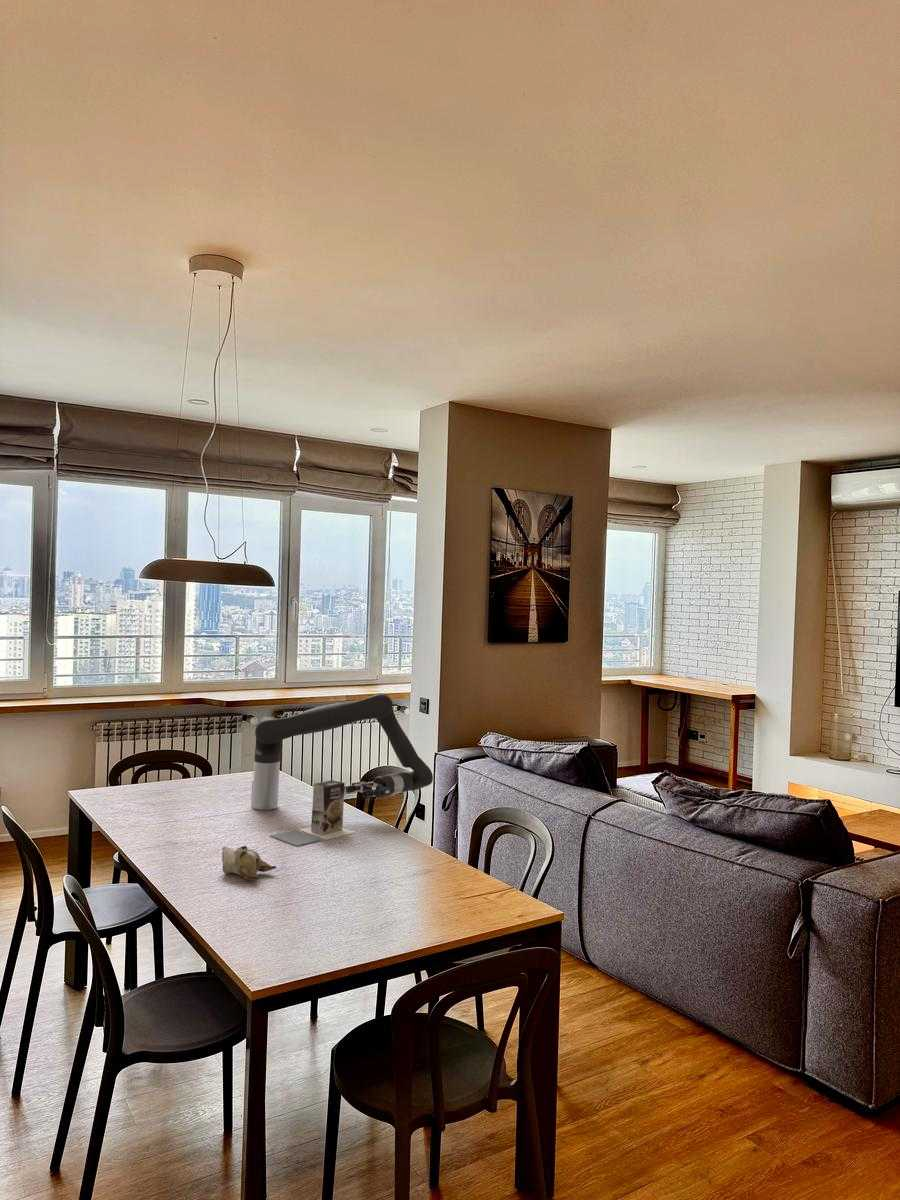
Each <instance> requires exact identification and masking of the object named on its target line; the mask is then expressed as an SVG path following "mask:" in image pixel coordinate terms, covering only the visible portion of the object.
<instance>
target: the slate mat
mask: <svg viewBox="0 0 900 1200" xmlns="http://www.w3.org/2000/svg"><path fill="white" fill-rule="evenodd" d="M270 837H271V838H273V839H276V840H278V841H280V842H284V843H286V844H288V845H291V846H293V847H296V848H297V847H302V846H306V845H310V844H314V843H318V842H322V841H323V839H322V838H319V837H316V836H313V835H310V834H308V833H305V832H302V831H299V830H297V829H292V830H288V831H284V832H279V833H276V834H271V835H270Z"/></svg>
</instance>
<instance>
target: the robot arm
mask: <svg viewBox="0 0 900 1200" xmlns="http://www.w3.org/2000/svg"><path fill="white" fill-rule="evenodd" d="M393 708H394V705H393V700H392V698H391V697H390V696H389V695H387V694H386V693H382V692H381V693H379V692H378V693H375V694H373V695H371V696H370V697H366V698H363V699H360V700H356V701H351V702H349V701H348V702H336V703H330V704H329V703H328V704H325V705H324V704H323V705H319V706H316V707H313V708H308V709H307V710H304V711H302V712H299V713H296V714H294V715H291V716H287V717H281V718H276V717H275V716H264V717H262V718H261V719H260V720H259V721H258V722H257V725H256V727H255V731H254V734H255V749H254V761H253V762H254V763H253V764H254V765H253V780H252V781H251V797H250V799H251V800H250V806H251V808H252V809H255V810H259V811H271V810H275V809H277V808H278V807H279V787H280V786H279V785H280V769H281V768H280V766H281V751H282V750H281V748H282V746H281V745H282V741H283V740H286V739H289V738H292V737H296V736H301V735H310V734H314V733H321V732H325V731H329V730H334V729H337V728H341V727H344V726H347V725H350V724H353V723H356V722H360V721H365V720H367V721H368V720H374V719H375V720H376V721H377V722H378V724H379V725H380V726H381V728H382V730H383V731H384V733H385V735H386V737H387V738H388V741H389V743H390V745H391V747H392V749H393V752H394V753H395V755H396V757H397V759H398V760H399V763H400V764H401V766H402V767H403V768H407V769H408V768H409V769H411V770H412V771H408V772H405V771H403V772H398V773H397V772H396V773H389V774H384V775H379V776H376V777H375V778H374V779H373V781H368V782H366V781H365V780H362V781H356V782H352V783H351V785H348V786H345V793H347V794H350V793H356V792H358V793H359V792H360V793H361V795H362V796H361V797H362V798H363V799H366V798H370V797H373V798H374V797H375V798H385V797H390V796H394V795H397V794H400V793H405V792H409V791H410V792H412V791H417V790H419V789H422V788H425V787H428V786H430V785H431V784H432V783H433V779H434V776H433V772H432V770H431V769H430V767H429V765H427V764H426V763H425V762H424V761H423V760H422V758H421V757H420V756H419V755H418V753H417V751H416V750H415V747H414V746H413V744H412V742H411V741H410V739H409V737H408V736H407V734H406V733H405V731H404V730H403V729H402V726H401V725H400V723H399V721H398V718H397V717H396V714H395V712H394V709H393Z"/></svg>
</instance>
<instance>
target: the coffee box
mask: <svg viewBox="0 0 900 1200" xmlns="http://www.w3.org/2000/svg"><path fill="white" fill-rule="evenodd" d="M345 788H346V786H345V782H344V781H343V782H342V781H338V780H337V781H336V780H334V779H333V780H327V781H323V782H317V783H313V791H312V792H313V794H312V807H311V808H312V811H311V826H310V827H311V831H313V832H316V833H319V834H322V835H325V834H328V833H332V832H336V831H340V830H342V828H344V827H343V824H344V804H345Z"/></svg>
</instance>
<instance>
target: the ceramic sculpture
mask: <svg viewBox="0 0 900 1200" xmlns="http://www.w3.org/2000/svg"><path fill="white" fill-rule="evenodd" d="M221 862H222V867H221V868H222V872H223V874H225V875H229V874H231V873H232V874H233V873H234V874H236V875H238V876H240V877H243V879H245V880H247V881H253V880H258V879H259V878H260V877H259V876H258V872H262V873H265V872H269V871H272V870H276V869H277V866H275V865H271V864H269V863H268V862H266V861H265V860H263V859H261V857H260V854H259V853H258V852H257V851H255V850H253V849H248V846H246V845H244V846H240V847H238V848H237V849H234V848H231V847H227V846H223V847H222V853H221Z"/></svg>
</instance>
